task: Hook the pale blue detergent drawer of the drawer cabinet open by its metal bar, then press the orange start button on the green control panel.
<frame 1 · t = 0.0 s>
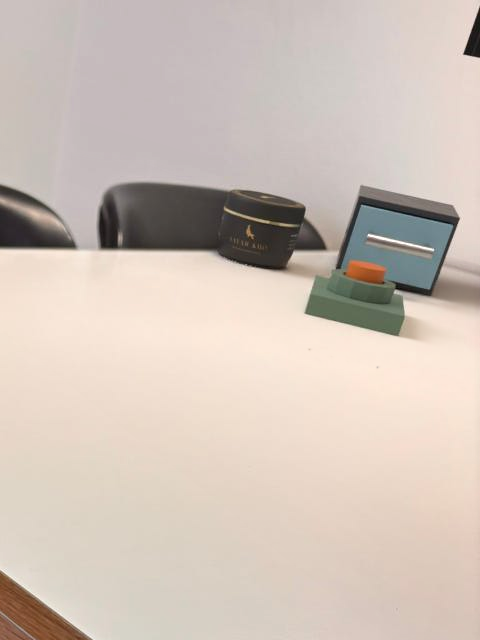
hand: (478, 56, 129), 27 cm above the table, tool pointing down, fingers open, 13 cm apart
start button: (365, 273, 117), point 4 cm above the table, slide at 0.1 cm
detergent drawer: (395, 244, 138), point 5 cm above the table, slide at 0.5 cm
jar: (250, 261, 137), on the table
drawer cabinet: (382, 275, 145), on the table
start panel: (351, 314, 119), on the table
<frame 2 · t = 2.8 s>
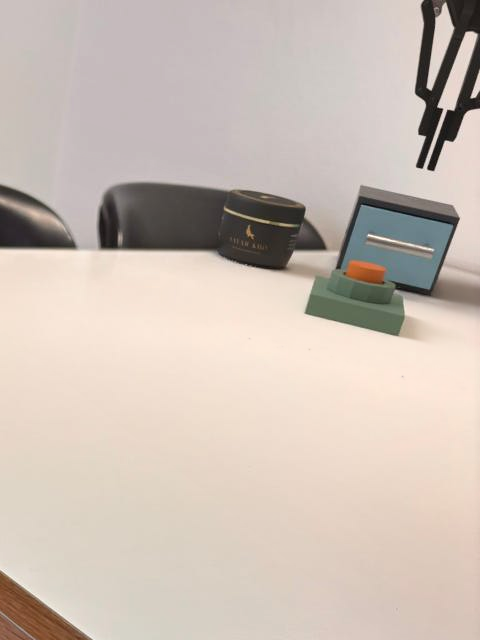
hand: (424, 168, 128), 14 cm above the table, tool pointing down, fingers closed
nothing on the table moved.
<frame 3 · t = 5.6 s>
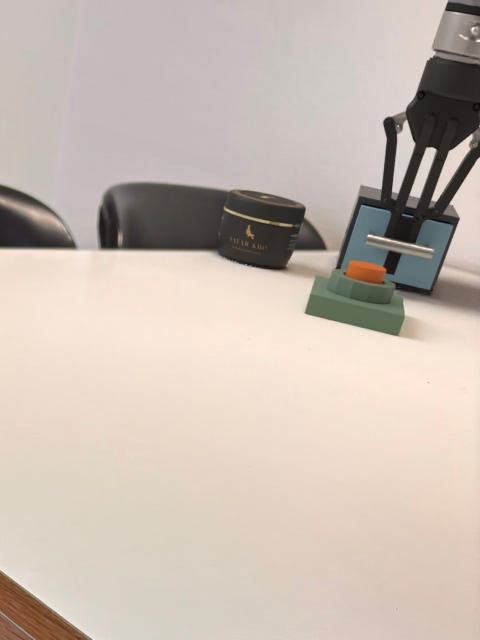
hand: (388, 272, 133), 2 cm above the table, tool pointing down, fingers closed
detergent drawer: (395, 244, 138), point 5 cm above the table, slide at 0.7 cm, touching gripper
everything else where it was.
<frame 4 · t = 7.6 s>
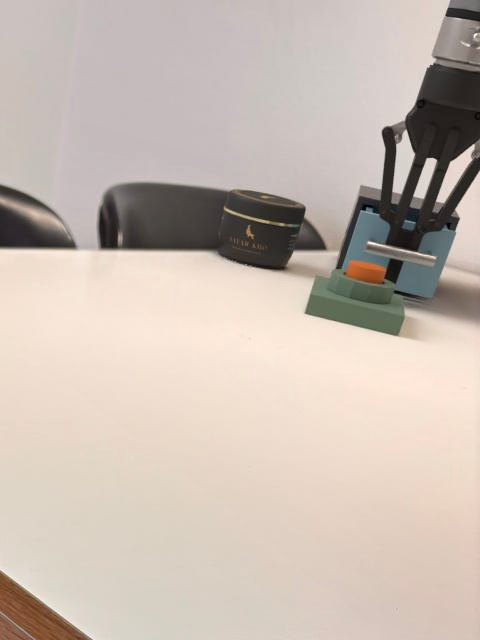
hand: (387, 286, 129), 2 cm above the table, tool pointing down, fingers closed
detergent drawer: (396, 251, 133), point 5 cm above the table, slide at 6.8 cm
everything else where it was.
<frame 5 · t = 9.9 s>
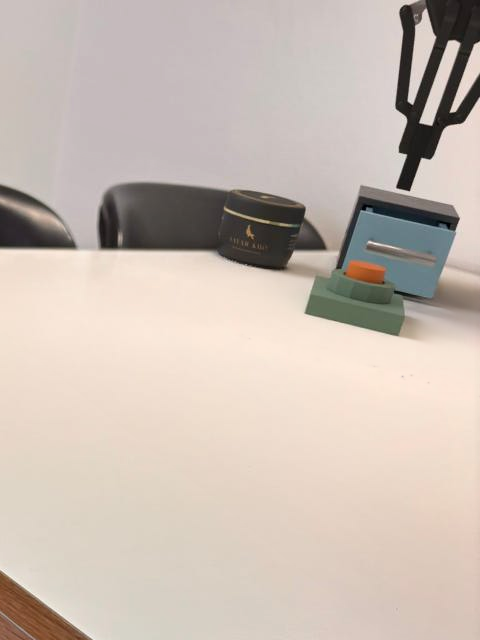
hand: (402, 188, 118), 13 cm above the table, tool pointing down, fingers closed
nothing on the table moved.
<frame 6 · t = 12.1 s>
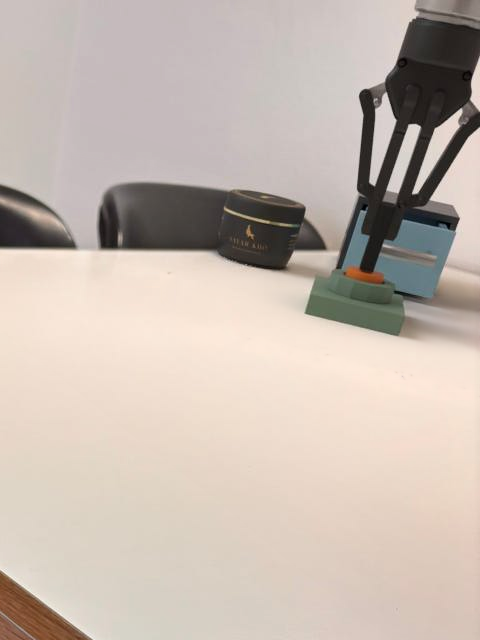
hand: (366, 268, 116), 5 cm above the table, tool pointing down, fingers closed
start button: (363, 279, 117), point 4 cm above the table, slide at -0.5 cm, touching gripper
everything else where it was.
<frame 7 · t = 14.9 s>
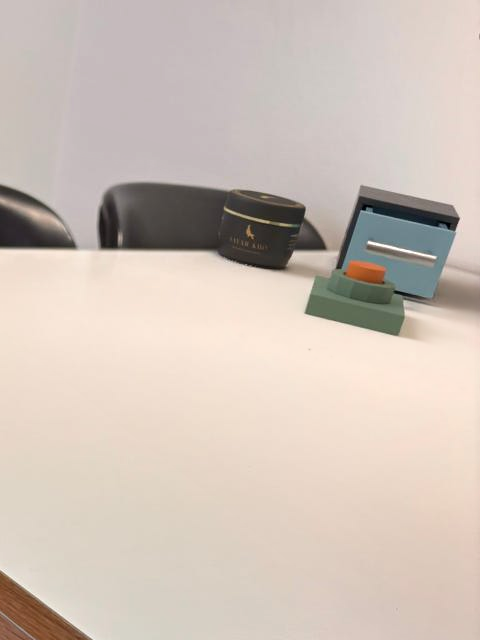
start button: (365, 273, 117), point 4 cm above the table, slide at 0.1 cm
everything else where it was.
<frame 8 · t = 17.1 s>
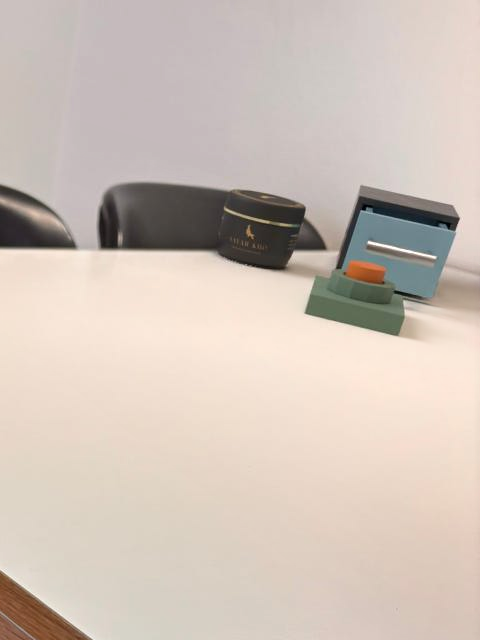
nothing on the table moved.
at the end: detergent drawer slide at 6.8 cm; start button pushed in 1.0 cm at the most during the clip, back to where it started at the end; start button slide at 0.1 cm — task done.
